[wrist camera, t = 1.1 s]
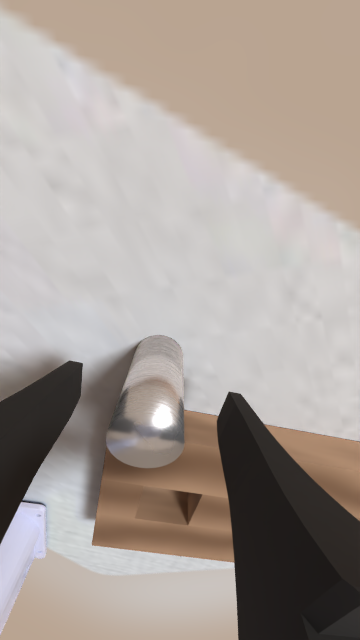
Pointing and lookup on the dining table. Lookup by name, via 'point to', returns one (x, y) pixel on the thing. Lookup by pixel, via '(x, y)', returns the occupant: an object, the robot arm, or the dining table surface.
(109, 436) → the steel pin
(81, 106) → the dining table surface
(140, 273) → the dining table surface
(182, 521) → the pin board
